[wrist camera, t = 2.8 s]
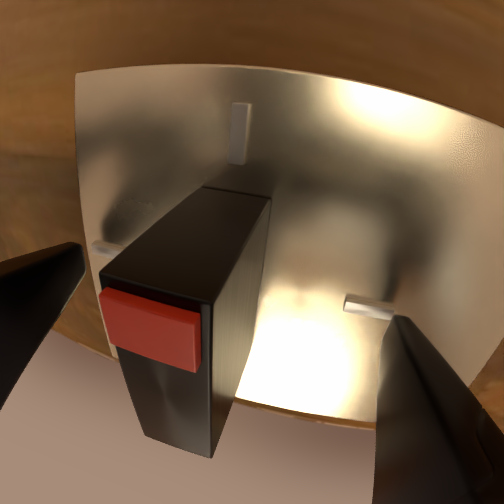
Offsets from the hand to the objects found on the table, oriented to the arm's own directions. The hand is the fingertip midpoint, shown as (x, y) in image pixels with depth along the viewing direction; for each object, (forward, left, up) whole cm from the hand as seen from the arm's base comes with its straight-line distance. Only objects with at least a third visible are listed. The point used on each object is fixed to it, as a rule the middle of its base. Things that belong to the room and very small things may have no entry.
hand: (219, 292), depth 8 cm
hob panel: (+2, 0, -4) cm, 4 cm away
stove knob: (0, 0, -1) cm, 1 cm away
